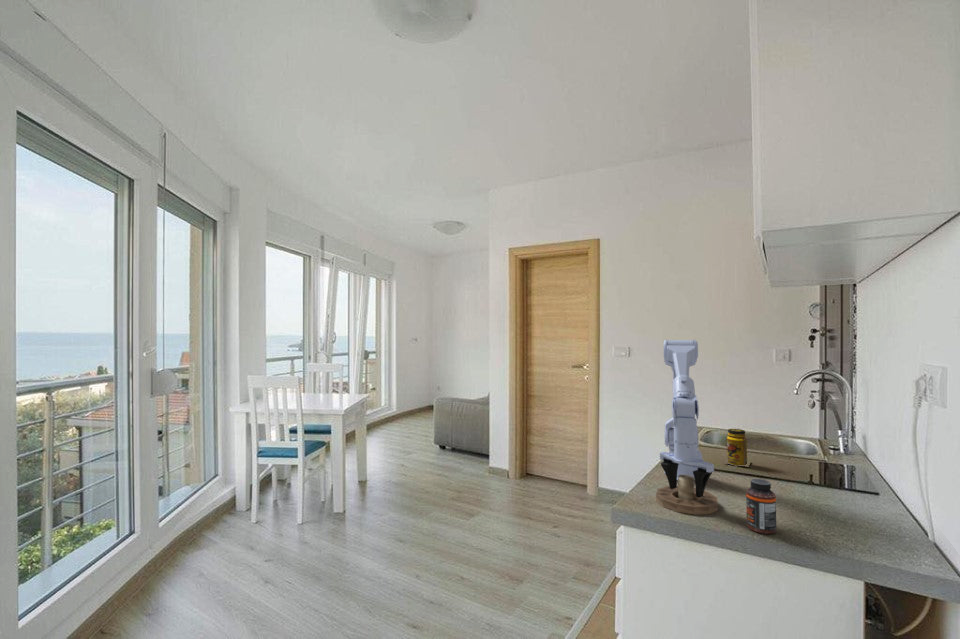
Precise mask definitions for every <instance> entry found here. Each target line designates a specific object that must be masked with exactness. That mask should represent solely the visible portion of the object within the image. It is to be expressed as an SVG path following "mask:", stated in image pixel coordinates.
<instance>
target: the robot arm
mask: <svg viewBox="0 0 960 639" xmlns="http://www.w3.org/2000/svg"><path fill="white" fill-rule="evenodd" d="M698 344H699V343H698V341H697V340H696V339H692V340H691V339H664V341H663V362H664V364H665V366H669V367H670V368H671V370H672V399H671V415H672V417H671V418H669V419H668V420H666V421H665V423H664V445H665V446H666V447H668V452H666V451H663V452H659V460H660V461H662V462H661V463H660V467H661V468H662V470H663V473H664V474H665V475H666V478H667V481H668V486H670V489H674V488H676V487H677V486H678V476H679V475H689V476H692V477H694V485H695V488H696V497H698V498H700V497H702V496H703V493H704V491H705V489H706V486H707V483H708V482H709V479H710V477H711V476H712V474H713V473H714V472H715V464H714V463H711V462H708V461H706V460H704V459H703V454H702V452H701V451H700V449H698V448H699V444H700V443H699V430H698V429H699V428H698V419H699V414H700V413H699V412H700V410H699V401H698V397H697V394H696V390H695V381H694V379H692V377H690V367H692V366H695V365H696V363H697V361H698V358H699V345H698Z"/></svg>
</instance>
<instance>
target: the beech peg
mask: <svg viewBox="0 0 960 639" xmlns="http://www.w3.org/2000/svg"><path fill="white" fill-rule="evenodd" d="M677 486H678V498H679V499H682V500H689V501H694V500H695V496H694V488H695V480H694V477H692V476H689V475H679V476H678V481H677Z"/></svg>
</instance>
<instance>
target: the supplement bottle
mask: <svg viewBox="0 0 960 639" xmlns="http://www.w3.org/2000/svg"><path fill="white" fill-rule="evenodd" d="M771 484H772V483H771V481H769V480H766V479H761V478H753V479H751V480H750V487H748V488H747V489H746V494H745V495H746V496H745V497H746V498H745V499H746V502H745V503H746V504H745V505H746V525H747V528H748V529H749V530H751V531H753V532H755V533H758V534H763V535H773V534H775V533H776V532H777V498H776V497H777V496H776V493H775V492H774V491H773V490H771V489H772V486H771Z"/></svg>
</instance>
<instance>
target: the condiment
mask: <svg viewBox="0 0 960 639" xmlns="http://www.w3.org/2000/svg"><path fill="white" fill-rule="evenodd" d="M747 445H748V441H747V438H746V431H745V430H744V429H740V428H728V430H727V436H726V447H727V448H726V453H727V454H726V455H727V456H726V458H727V460H726V462H727V461H728V463H730V464H733V465H746V464H747V462H748V446H747Z"/></svg>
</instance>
